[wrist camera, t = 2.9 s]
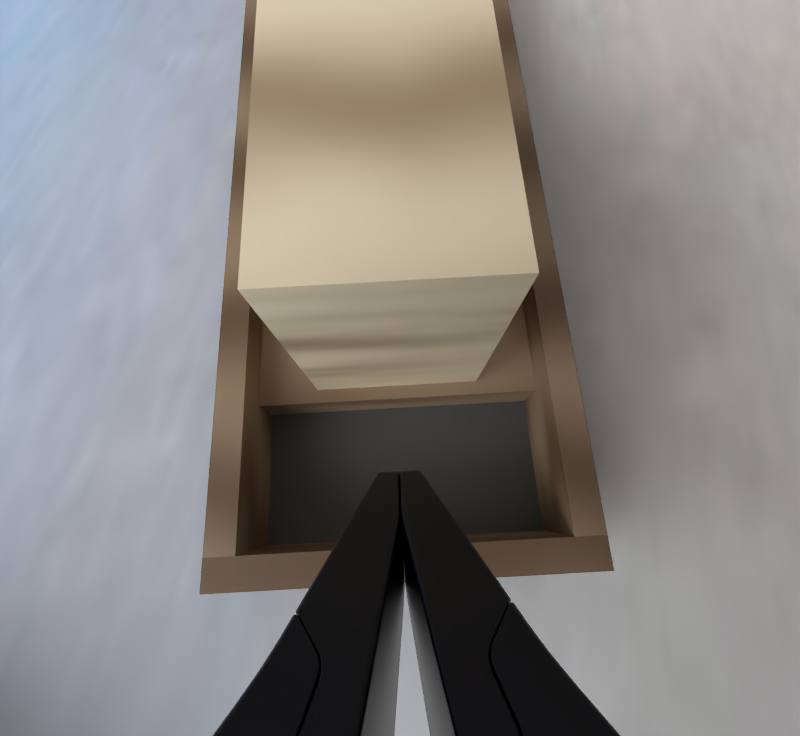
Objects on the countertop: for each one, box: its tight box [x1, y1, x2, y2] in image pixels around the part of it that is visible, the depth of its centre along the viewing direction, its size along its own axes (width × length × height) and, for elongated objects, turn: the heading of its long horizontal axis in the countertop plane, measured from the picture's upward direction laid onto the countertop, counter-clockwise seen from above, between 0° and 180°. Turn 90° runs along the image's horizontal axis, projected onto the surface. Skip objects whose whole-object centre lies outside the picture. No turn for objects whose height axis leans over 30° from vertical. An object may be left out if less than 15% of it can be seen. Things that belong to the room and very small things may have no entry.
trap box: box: [200, 0, 614, 594], centre depth 19 cm, size 31×12×4 cm, turn 3°
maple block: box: [238, 0, 539, 390], centre depth 14 cm, size 9×6×8 cm, turn 3°
